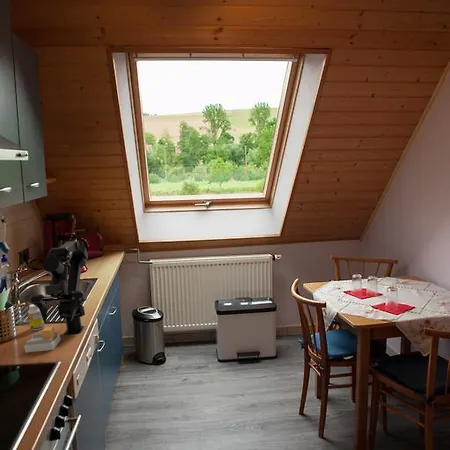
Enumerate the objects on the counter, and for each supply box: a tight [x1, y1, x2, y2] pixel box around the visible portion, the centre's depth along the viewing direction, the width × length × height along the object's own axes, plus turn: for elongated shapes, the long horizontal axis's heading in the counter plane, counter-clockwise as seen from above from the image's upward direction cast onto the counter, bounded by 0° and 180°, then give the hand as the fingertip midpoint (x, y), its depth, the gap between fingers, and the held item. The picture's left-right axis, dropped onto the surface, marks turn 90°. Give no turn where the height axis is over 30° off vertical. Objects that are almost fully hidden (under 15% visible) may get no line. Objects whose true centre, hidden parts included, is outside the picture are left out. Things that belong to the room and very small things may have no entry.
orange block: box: [41, 325, 56, 340], centre depth 164 cm, size 4×3×4 cm
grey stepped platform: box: [24, 331, 62, 353], centre depth 164 cm, size 9×10×4 cm
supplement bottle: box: [27, 303, 46, 331], centre depth 183 cm, size 6×6×10 cm
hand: (58, 321), depth 158 cm, fingers open, 9 cm apart
